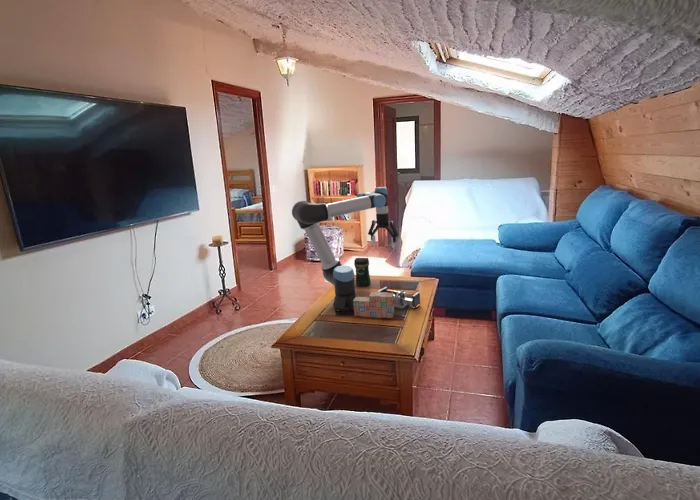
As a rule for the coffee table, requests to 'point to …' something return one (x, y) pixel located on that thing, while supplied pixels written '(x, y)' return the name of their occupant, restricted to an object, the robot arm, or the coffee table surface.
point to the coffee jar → (362, 271)
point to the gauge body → (395, 297)
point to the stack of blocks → (375, 305)
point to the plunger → (409, 301)
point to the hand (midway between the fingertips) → (383, 246)
